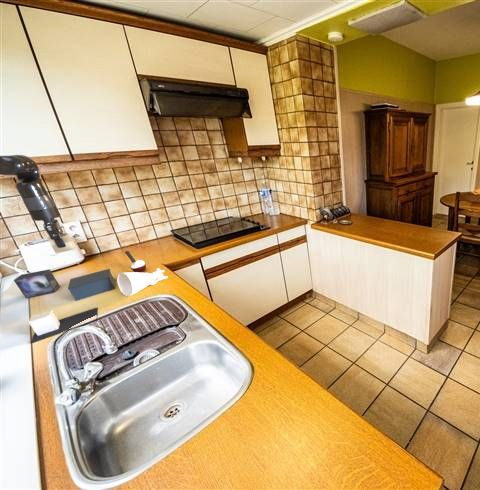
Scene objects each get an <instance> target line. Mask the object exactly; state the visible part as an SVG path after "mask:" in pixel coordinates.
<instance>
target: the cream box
mask: <svg viewBox="0 0 480 490" xmlns="http://www.w3.org/2000/svg"><path fill="white" fill-rule="evenodd" d="M60 235H61V236H62V239H63V241H64V243H65V245H66V247H63V248H58V246H57V244H56V243H55V241H54V240H52V239H51V238H50V236H49V235H48V236H49V237H48V238H47V241H48V243H49V244H50V246H51V248H52V249H53V251H54V252H55V254H60V253H65V252H70V251H74V250H75V248H76V245H75V244H74V241H73V239H72V238H71V236H70V234H69V232H63V234H60ZM53 236H57V235H54V234H53Z"/></svg>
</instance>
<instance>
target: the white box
mask: <svg viewBox="0 0 480 490" xmlns="http://www.w3.org/2000/svg"><path fill="white" fill-rule="evenodd" d="M58 320H59V319H58V317H57V316H56V314H55V313H54V311H53V309H51V310H47V311H44V312H41V313H37V314H35V315H31V316H30V318H29V320H28V325H29V326H30V327H31V329H32V330H33V331H34V333H36V334H37V336H39V335H42V334H45V333H48V332H51V331H54V330H57V329H58V328H59V325H60V322H59V321H58Z"/></svg>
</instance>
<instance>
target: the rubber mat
mask: <svg viewBox="0 0 480 490" xmlns="http://www.w3.org/2000/svg"><path fill="white" fill-rule="evenodd" d="M98 310H99V308H98V307H94V308H90V309H88V310H85V311H82V312H78V313H76V314H72V315H69V316H65V317H64V318H60V319H58V321H59V322H60V325H59V328H58V329H57V330H54V331H51V332H48V333H45V334H42V335H39V336H37V334H36V333H35V332H33V335H32V338H31V341H30V344H34V343H37V342H39V341H42V340H45V339H48V338H51V337H53V336H57V335H59V334H62V333H64V332H63V331H65V330H68V329H69V328H71V327H72V326H74V325H76V324H78V323H80V322H82V321H84V320H86V319H88V318H91V317H93V316H95V315H97V316H98ZM68 331H69V330H68ZM61 332H62V333H61ZM65 332H66V331H65Z"/></svg>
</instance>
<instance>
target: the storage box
mask: <svg viewBox="0 0 480 490" xmlns="http://www.w3.org/2000/svg"><path fill="white" fill-rule="evenodd" d="M115 289H116V279H115V278H114V276H113V274H112V271H111V268H107V269H103V270H99V271H95V272H92V273H91V272H90V273H87V274H85V275H84V274H83V275H80V276H76V277H73V278H70V279H69V283H68V286H67V290H69V292H70V294H71V296H72V298H73V299H74V300H75V301H76V302H78V301H80V300H84V299H86V298H90V297H93V296H96V295H100V294H102V293H103V294H104V293H106V292H109V291H112V290H115Z"/></svg>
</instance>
